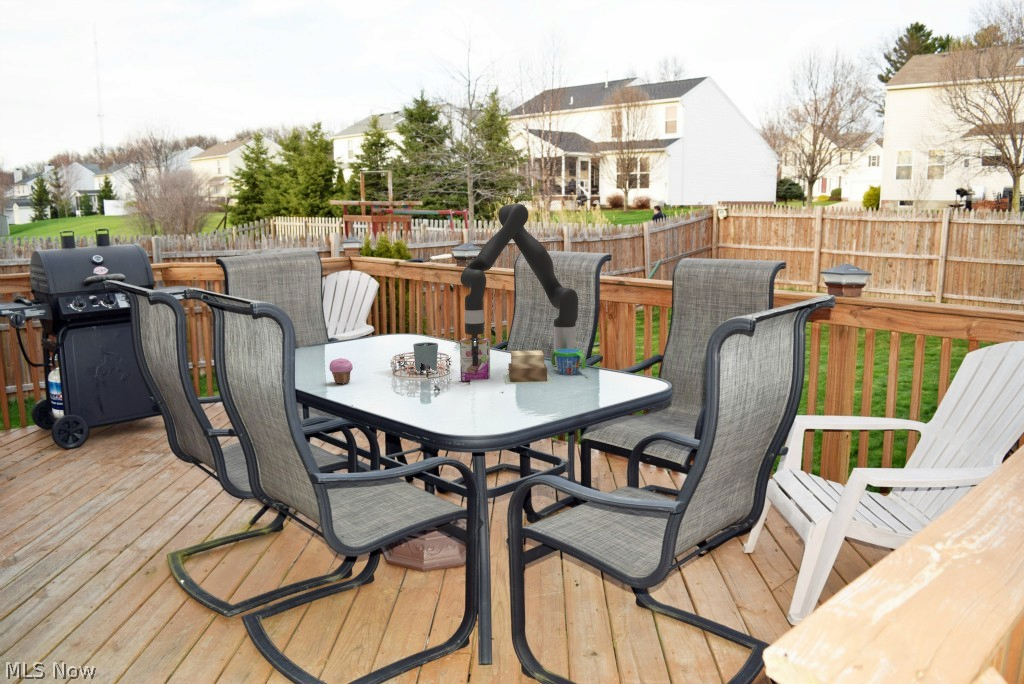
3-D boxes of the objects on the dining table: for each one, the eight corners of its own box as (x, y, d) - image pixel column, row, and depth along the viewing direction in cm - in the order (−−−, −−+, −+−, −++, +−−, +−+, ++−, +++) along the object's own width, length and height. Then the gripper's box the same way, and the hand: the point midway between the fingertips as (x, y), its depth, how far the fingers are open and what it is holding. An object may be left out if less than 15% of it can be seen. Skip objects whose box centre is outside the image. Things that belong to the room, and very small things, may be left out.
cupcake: (347, 386, 299) (346, 360, 297) (326, 385, 301) (325, 360, 299) (356, 381, 307) (355, 356, 306) (336, 380, 309) (334, 355, 308)
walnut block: (544, 374, 308) (544, 362, 307) (547, 381, 296) (547, 368, 296) (508, 375, 307) (508, 363, 307) (510, 382, 296) (510, 369, 295)
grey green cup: (412, 375, 318) (411, 346, 316) (416, 370, 328) (415, 342, 326) (437, 374, 317) (436, 345, 315) (440, 370, 327) (439, 341, 325)
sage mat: (548, 376, 311) (548, 373, 311) (553, 385, 294) (553, 382, 293) (503, 377, 310) (503, 374, 310) (505, 387, 293) (505, 384, 292)
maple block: (541, 362, 306) (541, 350, 306) (544, 367, 296) (544, 354, 296) (511, 363, 306) (510, 351, 305) (512, 368, 296) (512, 355, 295)
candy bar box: (460, 382, 303) (459, 340, 300) (462, 379, 308) (461, 338, 305) (489, 382, 302) (488, 340, 299) (490, 379, 307) (489, 338, 304)
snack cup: (545, 374, 314) (544, 350, 312) (563, 371, 321) (562, 346, 319) (573, 380, 303) (573, 354, 301) (591, 376, 310) (591, 351, 308)
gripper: (484, 323, 294) (485, 367, 297) (483, 318, 308) (484, 361, 311) (464, 324, 294) (465, 368, 297) (464, 319, 308) (465, 361, 311)
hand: (475, 364), depth 304 cm, fingers closed on candy bar box, 5 cm apart
